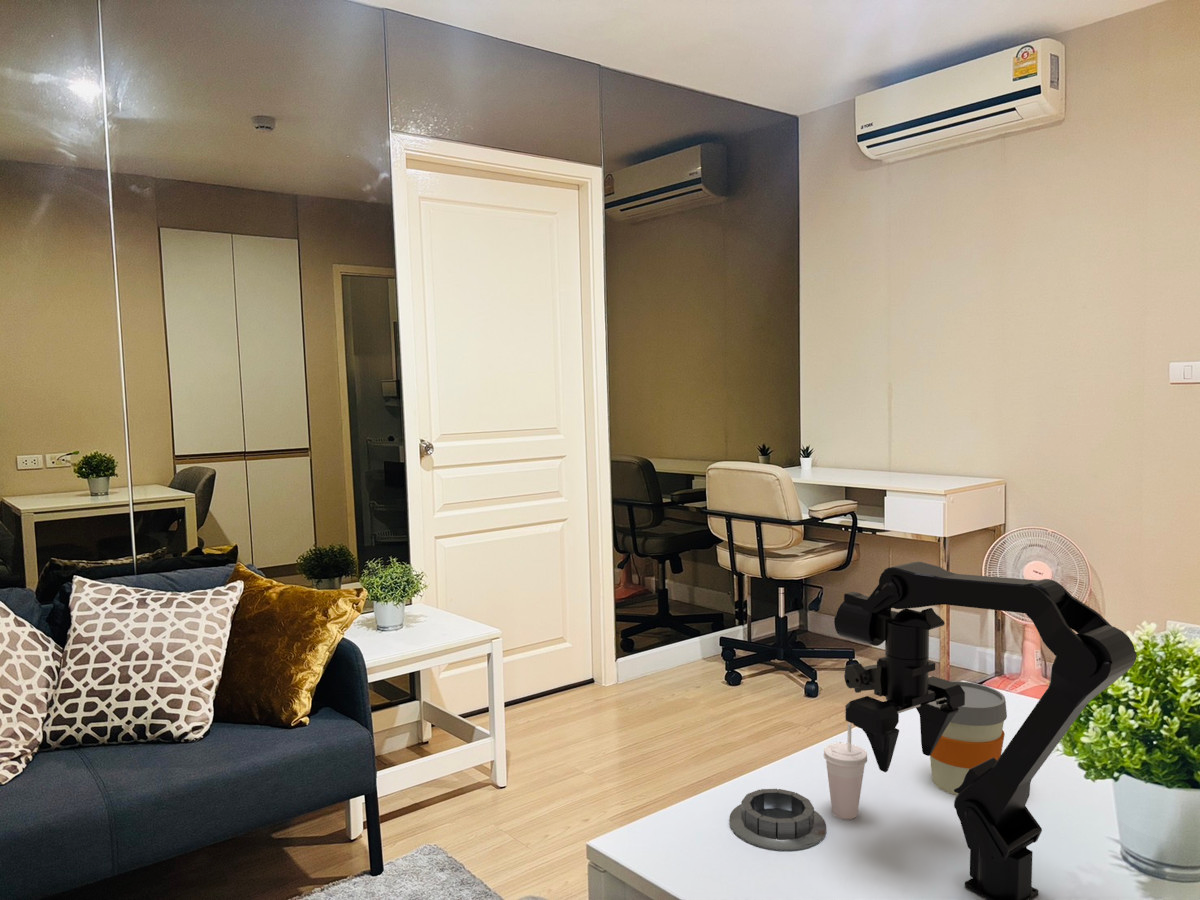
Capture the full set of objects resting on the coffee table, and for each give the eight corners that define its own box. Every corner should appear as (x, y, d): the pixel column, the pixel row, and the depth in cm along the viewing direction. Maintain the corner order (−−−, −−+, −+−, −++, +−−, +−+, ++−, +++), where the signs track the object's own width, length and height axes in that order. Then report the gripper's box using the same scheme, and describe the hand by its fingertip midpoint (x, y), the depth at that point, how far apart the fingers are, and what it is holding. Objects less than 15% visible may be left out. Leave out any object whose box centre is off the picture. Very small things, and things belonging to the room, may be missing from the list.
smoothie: (868, 825, 129) (870, 733, 127) (823, 821, 130) (824, 730, 129) (864, 804, 135) (865, 716, 134) (821, 801, 136) (822, 714, 135)
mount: (846, 832, 127) (847, 811, 127) (776, 861, 119) (776, 839, 119) (778, 794, 139) (778, 775, 138) (710, 818, 131) (710, 798, 131)
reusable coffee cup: (925, 798, 137) (927, 705, 136) (916, 763, 149) (918, 677, 148) (1012, 806, 134) (1015, 711, 133) (996, 770, 146) (998, 683, 145)
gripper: (902, 629, 133) (901, 729, 134) (815, 651, 123) (815, 758, 124) (968, 647, 124) (966, 754, 125) (879, 672, 114) (878, 788, 115)
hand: (905, 762), depth 122 cm, fingers open, 9 cm apart
